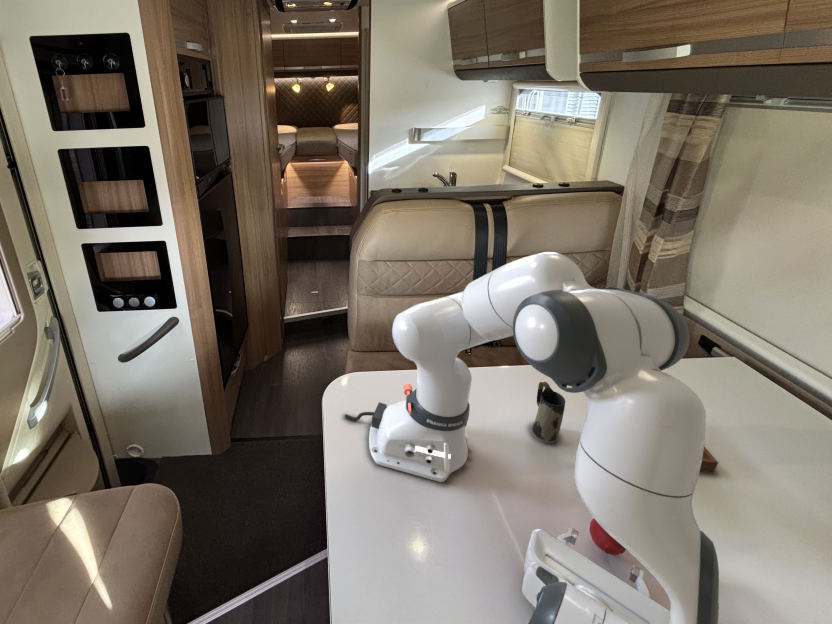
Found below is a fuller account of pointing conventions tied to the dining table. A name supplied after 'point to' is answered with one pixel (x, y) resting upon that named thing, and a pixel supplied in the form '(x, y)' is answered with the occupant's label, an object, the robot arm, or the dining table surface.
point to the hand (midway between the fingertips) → (604, 550)
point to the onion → (604, 539)
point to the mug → (548, 414)
